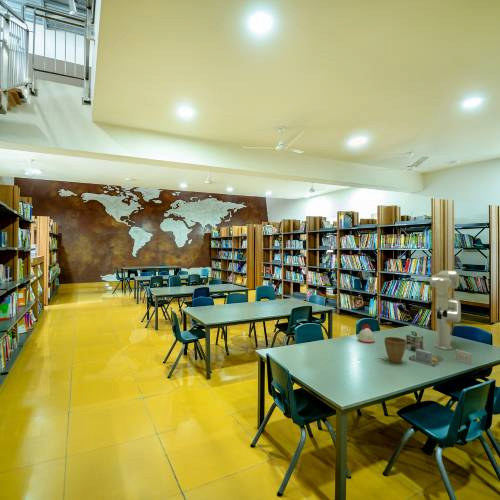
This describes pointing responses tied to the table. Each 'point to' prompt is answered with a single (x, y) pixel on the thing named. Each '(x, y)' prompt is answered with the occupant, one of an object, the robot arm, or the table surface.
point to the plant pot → (395, 348)
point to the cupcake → (366, 335)
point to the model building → (414, 341)
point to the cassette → (465, 359)
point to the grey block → (424, 355)
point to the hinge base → (434, 362)
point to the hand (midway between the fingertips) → (442, 317)
